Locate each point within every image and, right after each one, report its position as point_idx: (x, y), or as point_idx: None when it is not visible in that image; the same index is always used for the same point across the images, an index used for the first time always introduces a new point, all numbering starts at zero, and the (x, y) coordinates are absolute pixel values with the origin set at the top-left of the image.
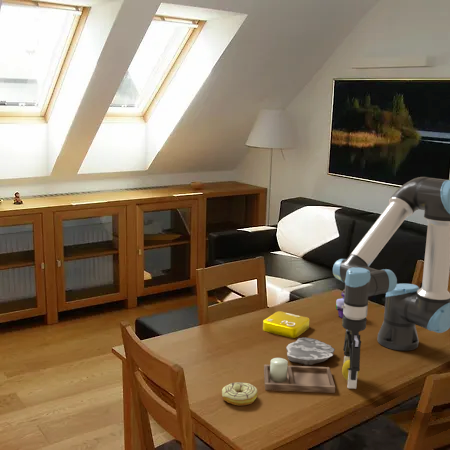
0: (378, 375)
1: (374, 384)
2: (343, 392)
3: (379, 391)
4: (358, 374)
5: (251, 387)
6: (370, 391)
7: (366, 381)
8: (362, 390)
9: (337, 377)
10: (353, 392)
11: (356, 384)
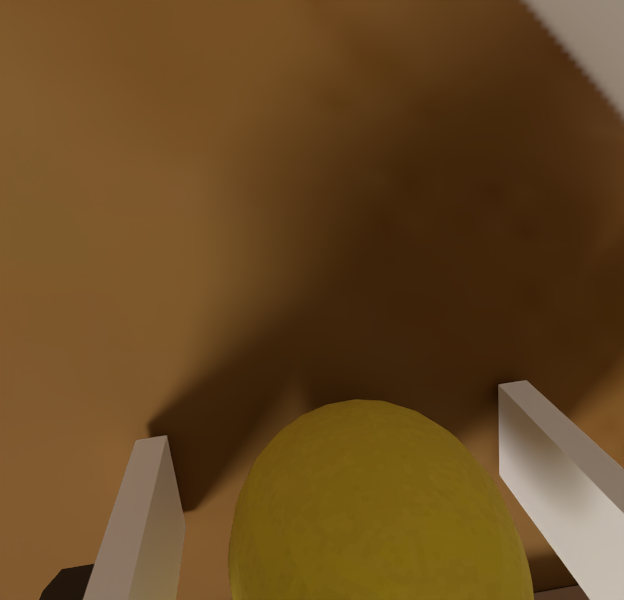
0: (10, 25)
1: (350, 129)
2: None
3: (550, 77)
4: (424, 422)
5: None
6: (558, 204)
7: (278, 238)
8: (540, 303)
9: None
10: (595, 404)
11: (554, 406)
